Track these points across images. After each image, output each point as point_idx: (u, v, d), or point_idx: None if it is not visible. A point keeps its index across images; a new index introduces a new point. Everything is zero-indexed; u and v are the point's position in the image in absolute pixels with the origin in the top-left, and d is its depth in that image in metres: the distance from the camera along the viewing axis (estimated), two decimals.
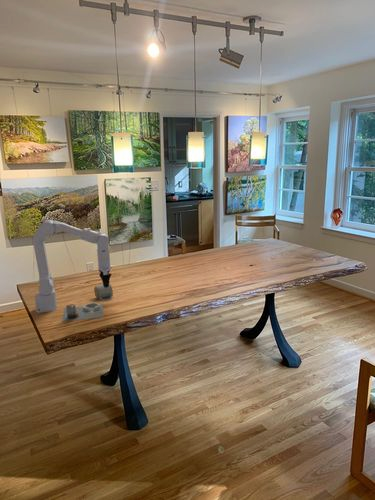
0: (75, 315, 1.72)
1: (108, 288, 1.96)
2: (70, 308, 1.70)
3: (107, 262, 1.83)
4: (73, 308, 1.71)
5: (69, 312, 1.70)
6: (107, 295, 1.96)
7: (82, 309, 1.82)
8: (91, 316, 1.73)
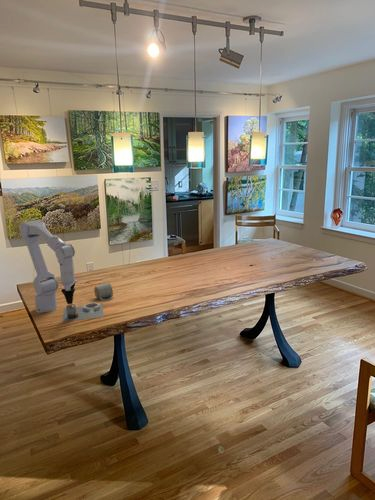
0: (75, 315, 1.72)
1: (108, 288, 1.95)
2: (70, 308, 1.70)
3: (70, 276, 1.66)
4: (73, 308, 1.71)
5: (69, 312, 1.70)
6: (107, 295, 1.96)
7: (82, 309, 1.82)
8: (91, 316, 1.73)
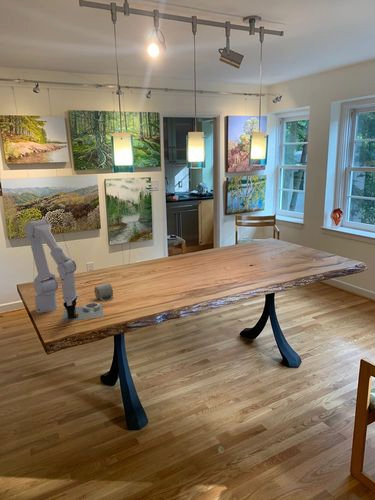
0: (75, 315, 1.72)
1: (108, 288, 1.95)
2: None
3: (72, 291, 1.68)
4: None
5: None
6: (107, 295, 1.95)
7: (82, 309, 1.82)
8: (91, 316, 1.73)
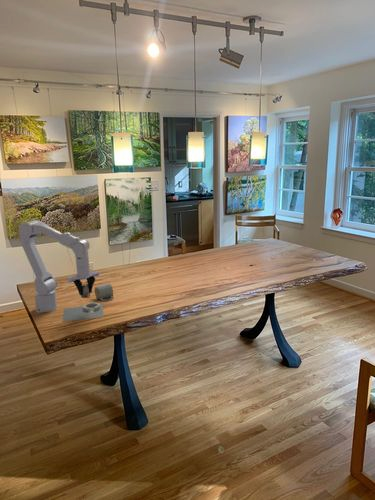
0: (85, 295, 1.76)
1: (108, 289, 1.95)
2: None
3: (79, 270, 1.73)
4: (82, 288, 1.75)
5: None
6: (107, 296, 1.95)
7: (82, 309, 1.82)
8: (91, 316, 1.73)
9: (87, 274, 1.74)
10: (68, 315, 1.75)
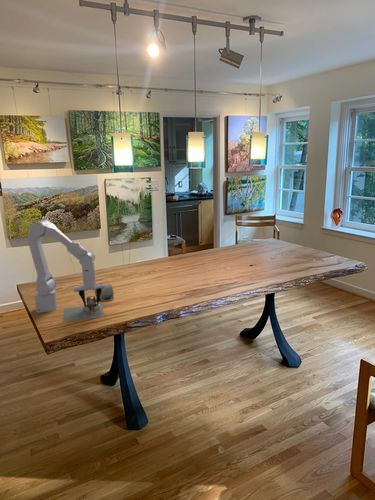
0: (89, 307, 1.81)
1: (109, 289, 1.94)
2: None
3: (84, 282, 1.77)
4: (87, 300, 1.80)
5: None
6: (108, 296, 1.94)
7: (82, 309, 1.82)
8: (91, 316, 1.73)
9: (91, 286, 1.78)
10: (68, 315, 1.75)
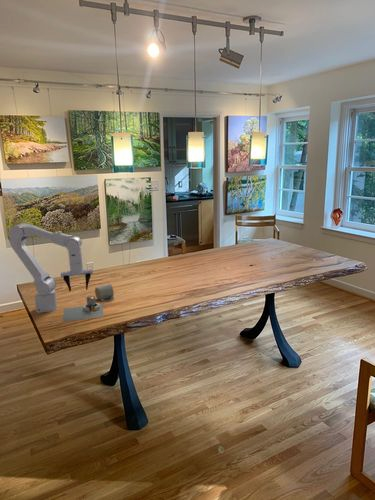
0: (89, 307, 1.81)
1: (109, 289, 1.94)
2: None
3: (70, 267, 1.76)
4: (87, 300, 1.80)
5: None
6: (108, 296, 1.94)
7: (82, 309, 1.82)
8: (91, 316, 1.73)
9: (78, 271, 1.76)
10: (68, 315, 1.75)
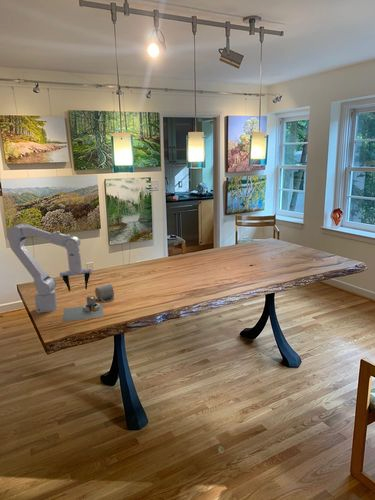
0: (89, 307, 1.81)
1: (109, 289, 1.94)
2: None
3: (69, 266, 1.76)
4: (87, 300, 1.80)
5: None
6: (108, 296, 1.94)
7: (82, 309, 1.82)
8: (91, 316, 1.73)
9: (77, 271, 1.76)
10: (68, 315, 1.75)
